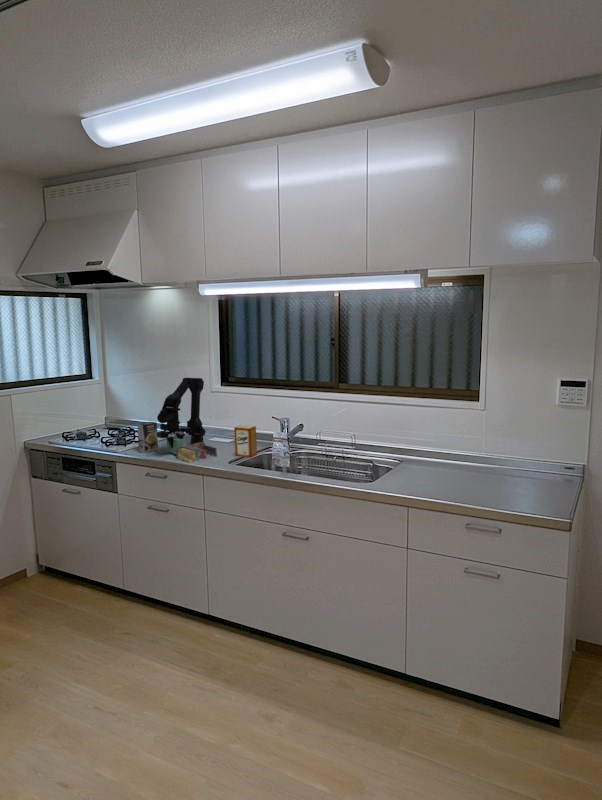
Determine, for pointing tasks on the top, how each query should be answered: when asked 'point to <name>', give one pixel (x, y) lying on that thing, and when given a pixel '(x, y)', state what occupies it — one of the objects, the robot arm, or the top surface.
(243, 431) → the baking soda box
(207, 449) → the book rack
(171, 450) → the green book
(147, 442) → the coffee box
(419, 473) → the top surface
